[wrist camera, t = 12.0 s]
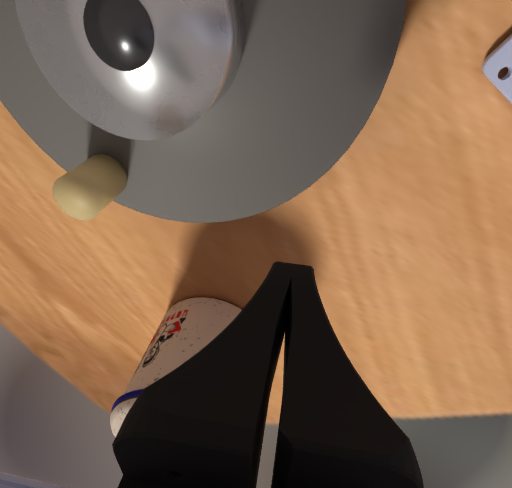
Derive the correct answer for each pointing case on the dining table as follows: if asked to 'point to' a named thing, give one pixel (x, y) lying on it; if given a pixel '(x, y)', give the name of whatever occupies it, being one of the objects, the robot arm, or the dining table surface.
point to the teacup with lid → (175, 346)
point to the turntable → (222, 116)
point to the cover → (136, 58)
